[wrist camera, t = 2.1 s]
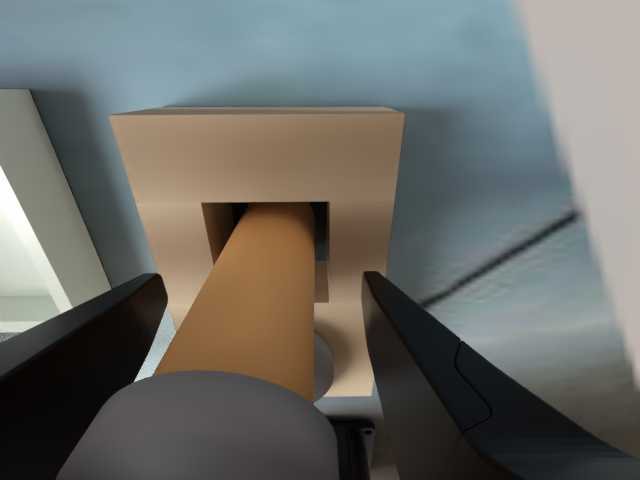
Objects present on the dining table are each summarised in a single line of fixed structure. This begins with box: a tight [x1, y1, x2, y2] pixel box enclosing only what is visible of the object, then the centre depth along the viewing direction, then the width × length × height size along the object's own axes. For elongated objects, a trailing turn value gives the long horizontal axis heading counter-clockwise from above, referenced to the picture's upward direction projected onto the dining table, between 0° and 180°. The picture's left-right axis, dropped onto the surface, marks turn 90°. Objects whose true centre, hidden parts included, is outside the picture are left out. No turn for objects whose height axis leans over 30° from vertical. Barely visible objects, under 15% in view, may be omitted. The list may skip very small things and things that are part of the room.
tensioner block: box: [108, 106, 405, 403], centre depth 11 cm, size 12×8×4 cm, turn 0°
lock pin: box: [55, 202, 339, 480], centre depth 8 cm, size 4×4×10 cm
